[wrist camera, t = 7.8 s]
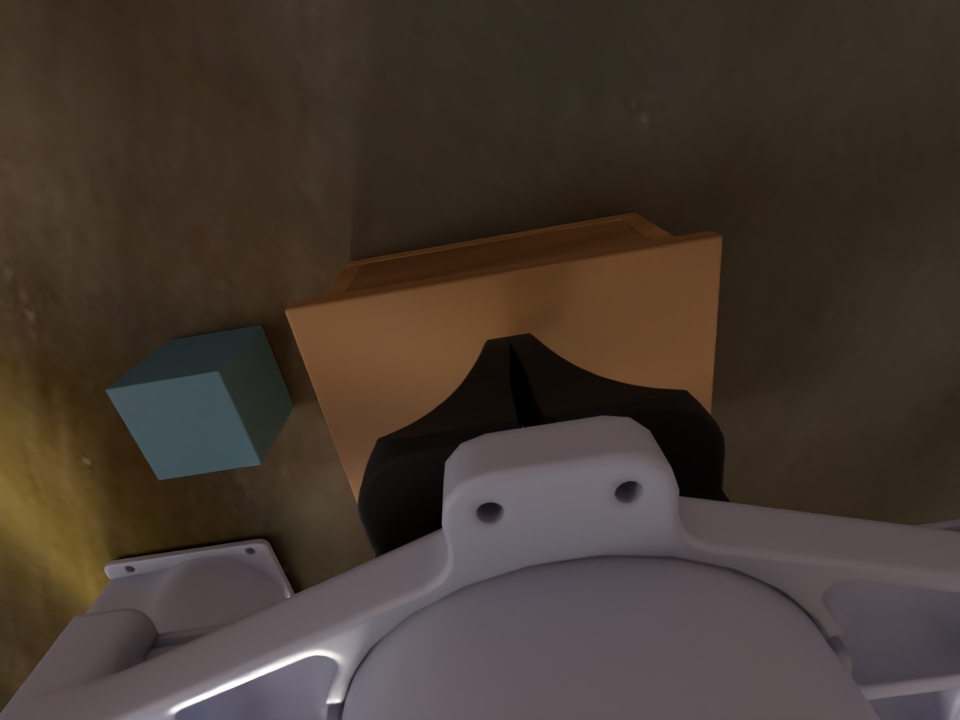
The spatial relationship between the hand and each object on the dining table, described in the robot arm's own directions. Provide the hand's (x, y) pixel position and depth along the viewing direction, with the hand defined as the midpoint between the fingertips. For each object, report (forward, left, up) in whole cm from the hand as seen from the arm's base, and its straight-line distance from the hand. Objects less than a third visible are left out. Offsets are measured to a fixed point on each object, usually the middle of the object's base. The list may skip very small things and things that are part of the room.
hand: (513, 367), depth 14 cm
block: (-13, -2, -8) cm, 15 cm away
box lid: (0, -3, -1) cm, 3 cm away
